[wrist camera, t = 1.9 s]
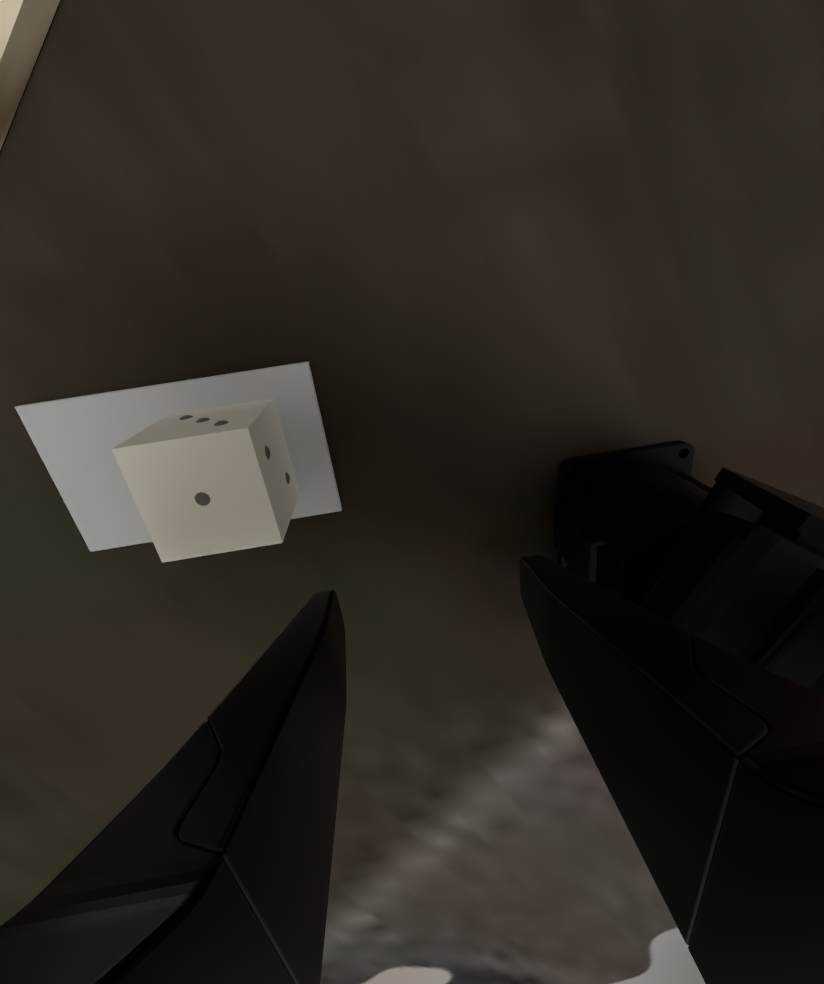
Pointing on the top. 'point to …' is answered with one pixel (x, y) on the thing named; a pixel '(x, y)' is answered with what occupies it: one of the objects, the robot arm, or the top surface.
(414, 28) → the top surface
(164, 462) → the die
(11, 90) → the board
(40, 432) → the mat
